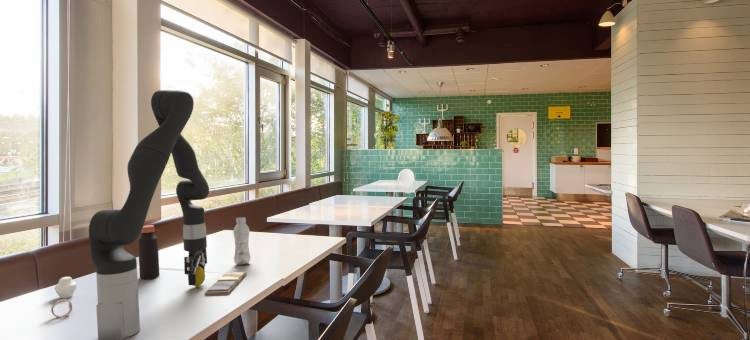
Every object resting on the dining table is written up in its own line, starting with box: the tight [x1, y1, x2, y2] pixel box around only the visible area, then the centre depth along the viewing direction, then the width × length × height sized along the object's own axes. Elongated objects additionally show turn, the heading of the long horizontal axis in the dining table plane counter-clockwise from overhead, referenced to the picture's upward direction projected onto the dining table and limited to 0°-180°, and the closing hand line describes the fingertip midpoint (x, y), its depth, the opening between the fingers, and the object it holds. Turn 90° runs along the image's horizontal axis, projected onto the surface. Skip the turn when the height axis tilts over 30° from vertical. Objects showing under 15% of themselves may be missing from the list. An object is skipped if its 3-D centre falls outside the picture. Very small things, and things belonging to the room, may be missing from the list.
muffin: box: [54, 276, 78, 299], centre depth 142 cm, size 6×6×7 cm
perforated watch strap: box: [50, 298, 73, 318], centre depth 124 cm, size 3×5×5 cm, turn 138°
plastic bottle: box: [232, 216, 251, 266], centre depth 177 cm, size 6×7×20 cm
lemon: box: [192, 266, 206, 288], centre depth 148 cm, size 6×6×8 cm
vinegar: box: [137, 224, 160, 280], centre depth 162 cm, size 7×7×20 cm
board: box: [204, 271, 247, 296], centre depth 151 cm, size 22×8×2 cm, turn 2°
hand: (197, 281), depth 148 cm, fingers open, 8 cm apart
